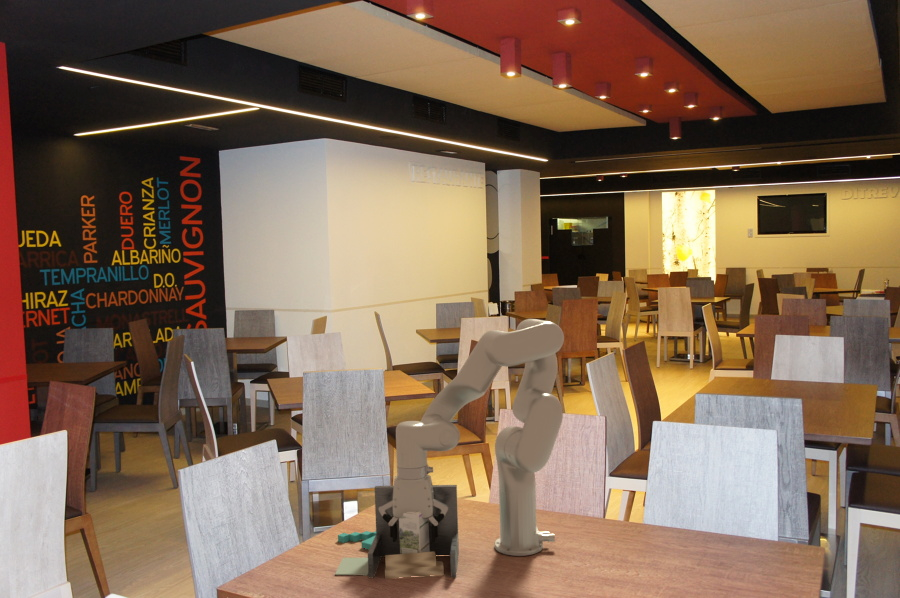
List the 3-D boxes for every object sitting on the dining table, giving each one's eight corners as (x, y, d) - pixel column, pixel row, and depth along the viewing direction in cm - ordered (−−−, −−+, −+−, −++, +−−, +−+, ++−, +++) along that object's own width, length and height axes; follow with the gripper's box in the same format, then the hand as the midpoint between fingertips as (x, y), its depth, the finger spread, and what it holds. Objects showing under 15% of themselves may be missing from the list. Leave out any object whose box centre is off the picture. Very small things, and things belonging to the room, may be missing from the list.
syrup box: (431, 562, 188) (429, 505, 187) (420, 571, 183) (418, 512, 182) (410, 559, 190) (408, 502, 190) (399, 568, 185) (397, 510, 184)
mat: (374, 558, 191) (374, 557, 191) (367, 575, 181) (367, 573, 181) (343, 559, 192) (343, 557, 192) (334, 575, 182) (334, 574, 182)
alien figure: (338, 543, 204) (393, 559, 192) (337, 535, 204) (392, 550, 192) (387, 521, 220) (441, 534, 208) (387, 513, 220) (440, 526, 208)
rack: (458, 553, 193) (456, 484, 192) (456, 577, 178) (453, 503, 177) (378, 554, 194) (375, 485, 193) (368, 578, 180) (365, 504, 179)
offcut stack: (442, 571, 183) (442, 550, 183) (443, 576, 180) (443, 556, 179) (385, 574, 182) (384, 554, 182) (385, 580, 178) (384, 559, 178)
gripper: (448, 467, 188) (449, 534, 189) (379, 468, 189) (382, 534, 190) (446, 475, 181) (448, 545, 182) (375, 476, 182) (377, 545, 183)
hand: (414, 539), depth 186 cm, fingers open, 9 cm apart
